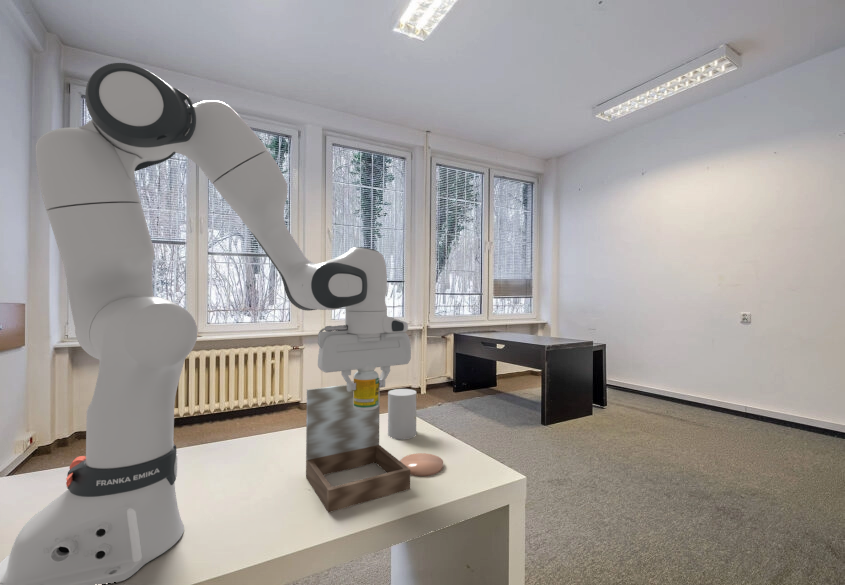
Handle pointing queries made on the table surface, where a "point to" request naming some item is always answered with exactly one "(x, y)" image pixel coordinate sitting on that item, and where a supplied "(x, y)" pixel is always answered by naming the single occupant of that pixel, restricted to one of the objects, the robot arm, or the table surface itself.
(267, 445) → the table surface
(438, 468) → the pink flat disc
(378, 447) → the hinged wooden box
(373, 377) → the supplement bottle
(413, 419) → the white cylinder
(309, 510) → the table surface
